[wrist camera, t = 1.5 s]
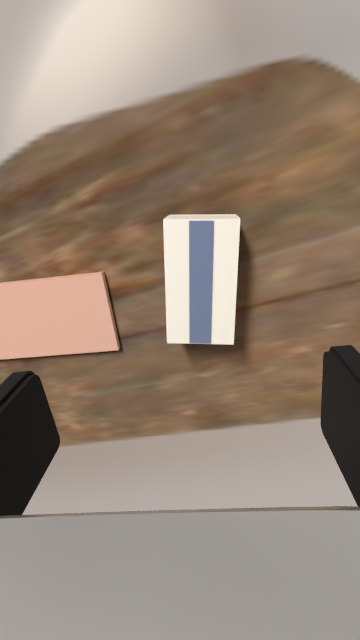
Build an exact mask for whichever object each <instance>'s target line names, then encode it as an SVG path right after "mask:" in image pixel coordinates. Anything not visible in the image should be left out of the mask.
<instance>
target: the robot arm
mask: <svg viewBox="0 0 360 640" xmlns="http://www.w3.org/2000/svg"><path fill="white" fill-rule="evenodd" d="M321 428H322V432H323V435H324V436H325V439H326V441H327V443H328V445H329V447H330V449H331V451H332V453H333V455H334V457H335V459H336V462H337V464H338V466H339V468H340V470H341V472H342V474H343V476H344V478H345V480H346V482H347V484H348V487H349V488H350V491H351V493H352V494H353V497H354V499H355V501H356V503H357V505H358V507H346V506H344V507H341V506H333V507H280V508H279V507H278V508H237V509H200V510H199V509H197V510H160V511H130V512H129V511H128V512H127V511H126V512H96V513H64V514H41V515H40V514H37V515H22V513H23V512H24V510H25V508H26V506H27V504H28V503H29V501H30V499H31V497H32V495H33V493H34V492H35V490H36V488H37V486H38V484H39V483H40V481H41V479H42V477H43V475H44V473H45V472H46V470H47V468H48V466H49V464H50V463H51V461H52V459H53V457H54V455H55V453H56V452H57V450H58V448H59V444H60V437H59V434H58V431H57V428H56V425H55V422H54V419H53V416H52V413H51V410H50V407H49V404H48V401H47V398H46V395H45V392H44V389H43V386H42V383H41V380H40V378H39V376H38V375H35V374H34V373H33V372H32V371H24V372H14V373H12V374H11V375H10V376H9V377H8V378H7V379H6V380H5V381H4V382H3V383H2V384H1V385H0V640H360V354H359V353H358V351H357V350H356V349H355V348H354V347H353V346H352V345H346V346H334V347H331V348H330V350H329V352H325V353H324V356H323V379H322V404H321Z"/></svg>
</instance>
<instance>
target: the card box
mask: <svg viewBox="0 0 360 640" xmlns="http://www.w3.org/2000/svg"><path fill="white" fill-rule="evenodd" d="M163 228H164V260H165V292H166V324H167V343H186V344H227V345H234V330H235V311H236V293H237V274H238V255H239V236H240V218H239V217H238V216H237V215H236V214H209V215H169V216H167V217H166V218H164V219H163Z"/></svg>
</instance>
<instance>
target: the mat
mask: <svg viewBox="0 0 360 640" xmlns="http://www.w3.org/2000/svg"><path fill="white" fill-rule="evenodd" d="M119 349H120V344H119V339H118V335H117V330H116V325H115V321H114V316H113V311H112V307H111V302H110V298H109V293H108V288H107V284H106V279H105V274H104V272H95V273H86V274H76V275H67V276H58V277H49V278H40V279H31V280H21V281H12V282H3V283H0V360H1V359H14V358H27V357H40V356H52V355H65V354H78V353H91V352H103V351H116V350H119Z"/></svg>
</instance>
